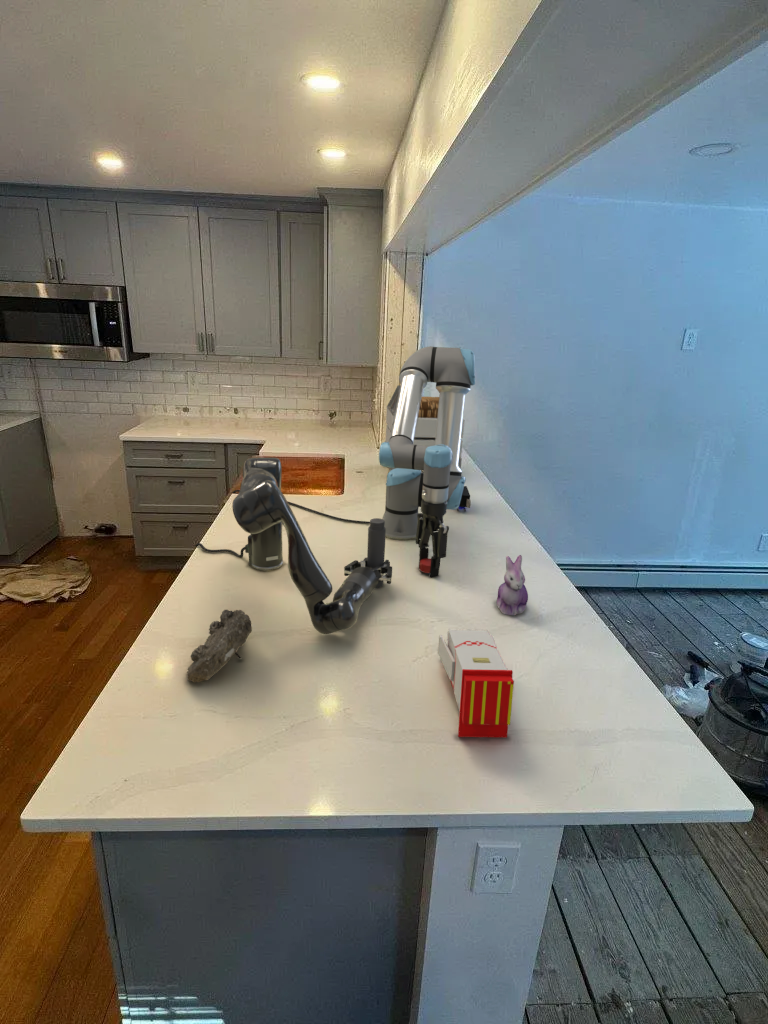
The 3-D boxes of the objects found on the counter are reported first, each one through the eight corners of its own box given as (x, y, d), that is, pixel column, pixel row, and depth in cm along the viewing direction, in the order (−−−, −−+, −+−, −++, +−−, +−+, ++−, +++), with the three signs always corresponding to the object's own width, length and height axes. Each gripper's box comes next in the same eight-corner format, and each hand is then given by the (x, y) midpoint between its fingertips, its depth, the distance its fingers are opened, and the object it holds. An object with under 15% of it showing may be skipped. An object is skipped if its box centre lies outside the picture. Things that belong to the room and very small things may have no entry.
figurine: (510, 620, 147) (517, 567, 142) (486, 602, 155) (492, 552, 150) (538, 612, 151) (545, 561, 146) (513, 595, 159) (519, 546, 154)
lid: (416, 567, 173) (416, 559, 172) (431, 564, 175) (431, 557, 174) (425, 574, 168) (426, 567, 167) (441, 571, 171) (442, 564, 170)
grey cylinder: (384, 588, 161) (387, 523, 154) (366, 588, 160) (369, 523, 154) (382, 580, 165) (385, 517, 159) (365, 580, 165) (367, 517, 158)
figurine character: (470, 516, 223) (465, 500, 237) (473, 499, 220) (467, 484, 233) (453, 516, 223) (449, 500, 236) (455, 498, 220) (451, 483, 233)
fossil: (206, 612, 136) (251, 583, 131) (234, 639, 138) (279, 612, 133) (166, 676, 116) (217, 644, 111) (199, 706, 119) (250, 677, 114)
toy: (488, 613, 130) (523, 677, 101) (484, 667, 133) (517, 744, 104) (435, 612, 130) (455, 676, 101) (432, 666, 133) (451, 743, 103)
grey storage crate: (382, 463, 289) (386, 382, 275) (445, 464, 293) (451, 384, 279) (390, 482, 257) (394, 392, 243) (460, 483, 261) (468, 394, 247)
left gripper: (385, 578, 145) (403, 553, 160) (332, 568, 148) (355, 545, 164) (383, 604, 147) (401, 577, 162) (332, 594, 151) (354, 568, 166)
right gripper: (406, 492, 170) (402, 562, 178) (441, 511, 155) (435, 587, 162) (427, 489, 174) (422, 558, 181) (463, 508, 158) (456, 582, 166)
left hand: (378, 561), depth 163 cm, fingers closed on grey cylinder, 5 cm apart
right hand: (428, 572), depth 172 cm, fingers closed on lid, 6 cm apart
